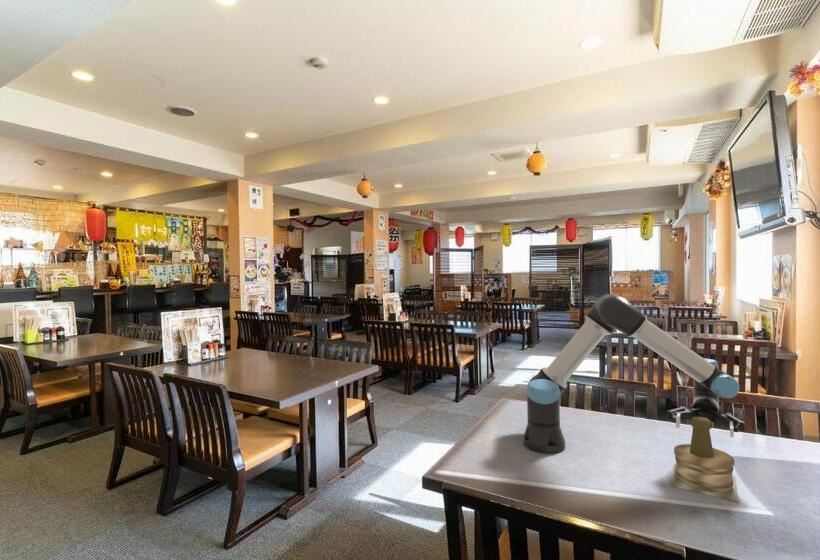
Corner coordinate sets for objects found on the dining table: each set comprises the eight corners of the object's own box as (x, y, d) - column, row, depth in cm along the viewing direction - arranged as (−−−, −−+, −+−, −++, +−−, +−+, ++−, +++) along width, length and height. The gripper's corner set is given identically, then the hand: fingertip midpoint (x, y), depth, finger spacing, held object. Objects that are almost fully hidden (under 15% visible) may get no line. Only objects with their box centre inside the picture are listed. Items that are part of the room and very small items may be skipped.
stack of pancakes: (670, 486, 123) (670, 457, 123) (674, 465, 136) (673, 439, 136) (738, 502, 114) (738, 471, 114) (735, 478, 127) (735, 451, 127)
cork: (718, 458, 122) (717, 421, 122) (695, 457, 123) (694, 420, 123) (707, 450, 128) (706, 414, 128) (686, 449, 129) (685, 414, 129)
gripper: (752, 427, 135) (757, 449, 118) (663, 413, 150) (656, 431, 133) (751, 404, 135) (756, 423, 118) (663, 392, 150) (656, 408, 133)
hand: (703, 427), depth 126 cm, fingers open, 13 cm apart
